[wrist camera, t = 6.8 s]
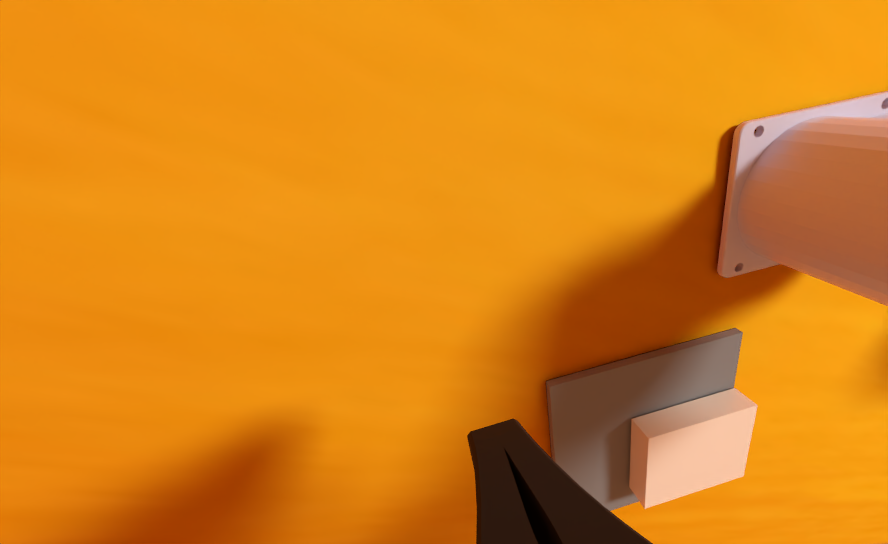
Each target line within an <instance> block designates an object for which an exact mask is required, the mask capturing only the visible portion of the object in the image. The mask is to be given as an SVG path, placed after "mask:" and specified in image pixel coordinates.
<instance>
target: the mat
mask: <svg viewBox="0 0 888 544" xmlns="http://www.w3.org/2000/svg"><path fill="white" fill-rule="evenodd" d="M742 333H743V332H741V331H740V330H738V329H736V328H734V329H730V330H727V331H723V332H720V333H716V334H712V335H709V336H705V337H702V338H698V339H695V340H691V341H688V342H684V343H680V344H677V345H673V346H670V347H666V348H663V349H659V350H655V351H652V352H648V353H645V354H641V355H638V356H634V357H631V358H627V359H623V360H620V361H616V362H613V363H609V364H606V365H602V366H598V367H595V368H591V369H588V370H584V371H581V372H577V373H574V374H570V375H566V376H563V377H559V378H556V379H552V380H549V381H546V390H547V402H548V415H549V428H550V441H551V453H552V460H553V461H554V462H555V463H556V464H558V465H559V466H560V467H561V468H562V469H563V470H564V471H565V472H566V473H567V474H568V475H569V476H570V477H571V478H572V479H573V480H574V481H575V482H577V483H578V484H579V485H580V486H581V487H582V488H583V489H584V490H585V491H587V492H588V493H589V494H590V495H591V496H592V497H594V498H595V499H596V500H597V501H598V502H599V503H601V504H602V505H603V506H604V507H605V508H607V509H608V510H609V511H611V510H614V509H617V508H620V507H623V506H626V505H629V504H632V503H635V502H638V501H639V500H638V499H637V497H636V496H635V494H634V493H633V491H632V490H631V489H630V487H629V481H630V450H631V419H633V418H636V417H639V416H643V415H646V414H649V413H653V412H656V411H659V410H663V409H666V408H669V407H673V406H676V405H679V404H683V403H686V402H689V401H693V400H696V399H699V398H703V397H706V396H709V395H713V394H716V393H719V392H723V391H726V390H729V389H733V388H734V383H735V376H736V370H737V364H738V358H739V352H740V346H741V339H742Z"/></svg>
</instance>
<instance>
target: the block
mask: <svg viewBox="0 0 888 544" xmlns="http://www.w3.org/2000/svg"><path fill="white" fill-rule="evenodd" d="M756 410H757V404H755V403H754V402H753V401H751V400H750V399H749V398H747V397H746V396H745V395H743V394H742V393H741V392H739V391H738V390H737V389H736V388H733V389H729V390H726V391H723V392H719V393H716V394H713V395H709V396H706V397H703V398H699V399H696V400H693V401H689V402H686V403H683V404H679V405H676V406H673V407H669V408H666V409H663V410H659V411H656V412H653V413H649V414H646V415H643V416H639V417H636V418H633V419H631V450H630V481H629V487H630V489H631V490H632V491H633V493H634V494H635V496H636V497H637V499H638V500H639V501H640V503H641V504H642V506H643V507H644V508H648V507H651V506H654V505H657V504H660V503H664V502H667V501H670V500H673V499H676V498H679V497H682V496H685V495H688V494H691V493H694V492H697V491H700V490H703V489H706V488H709V487H712V486H715V485H718V484H721V483H724V482H727V481H730V480H733V479H736V478H739V477H742V476H744V471H745V466H746V461H747V456H748V451H749V446H750V441H751V436H752V431H753V425H754V420H755V415H756Z"/></svg>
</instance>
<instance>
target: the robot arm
mask: <svg viewBox="0 0 888 544" xmlns="http://www.w3.org/2000/svg"><path fill="white" fill-rule="evenodd" d="M755 129H757V130H756V133H755V134H754V131H755ZM779 264H782V265H785V266H787V267H790V268H792V269H795V270H798V271H800V272H803V273H805V274H808V275H810V276H813V277H815V278H818V279H820V280H823V281H825V282H828V283H830V284H833V285H836V286H838V287H841V288H843V289H846V290H848V291H851V292H853V293H856V294H858V295H861V296H863V297H866V298H868V299H871V300H874V301H876V302H879V303H881V304H884V305H886V306H888V91H885V92H880V93H876V94H871V95H866V96H862V97H857V98H852V99H848V100H843V101H839V102H834V103H829V104H825V105H820V106H815V107H811V108H806V109H801V110H797V111H792V112H787V113H783V114H778V115H773V116H769V117H764V118H759V119H755V120H750V121H745V122H743V123H741V124H739V125H738V126H737V128H736V129H735V132H734V136H733V144H732V152H731V160H730V169H729V177H728V185H727V193H726V201H725V210H724V218H723V226H722V234H721V242H720V250H719V259H718V267H717V272H718V274H719V275H721V276H723V277H725V278H730V277H733V276H737V275H741V274H745V273H748V272H752V271H756V270H760V269H764V268H767V267H771V266H775V265H779ZM736 265H737V266H736ZM735 266H736V267H735ZM467 437H468V442H469V447H470V451H471V456H472V461H473V465H474V470H475V480H476V501H477V539H476V544H653V543H651V542H650V541H648V540H647V539H646V538H644V537H643V536H641V535H640V534H639V533H637V532H636V531H635V530H633V529H632V528H631V527H629V526H628V525H627V524H625V523H624V522H623V521H622V520H620V519H619V518H618V517H616V516H615V515H614V514H613V513H612V512H610V511H609V510H608V509H607V508H605V507H604V506H603V505H602V504H601V503H599V502H598V501H597V500H596V499H595V498H594V497H592V496H591V495H590V494H589V493H588V492H587V491H585V490H584V489H583V488H582V487H581V486H580V485H579V484H578V483H577V482H575V481H574V480H573V479H572V478H571V477H570V476H569V475H568V474H567V473H566V472H565V471H564V470H563V469H562V468H561V467H560V466H559V465H558V464H556V463H555V462H554V461H553V460H552V459H551V458H550V457H549V456H548V454H547V453H546V452H545V451H544V450H543V449H542V448H541V447H540V446H539V445H538V444H537V443H536V442H535V441H534V440H533V439H532V437H531V436H530V435H529V434H528V433H527V432H526V430H525V429H524V428H523V427H522V426H521V424H520V423H519V422H518V421H517V420H515V419H510V420H507V421H504V422H501V423H497V424H494V425H491V426H487V427H484V428H481V429H478V430H474V431H471V432H470V433H469V434H468V436H467Z"/></svg>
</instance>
